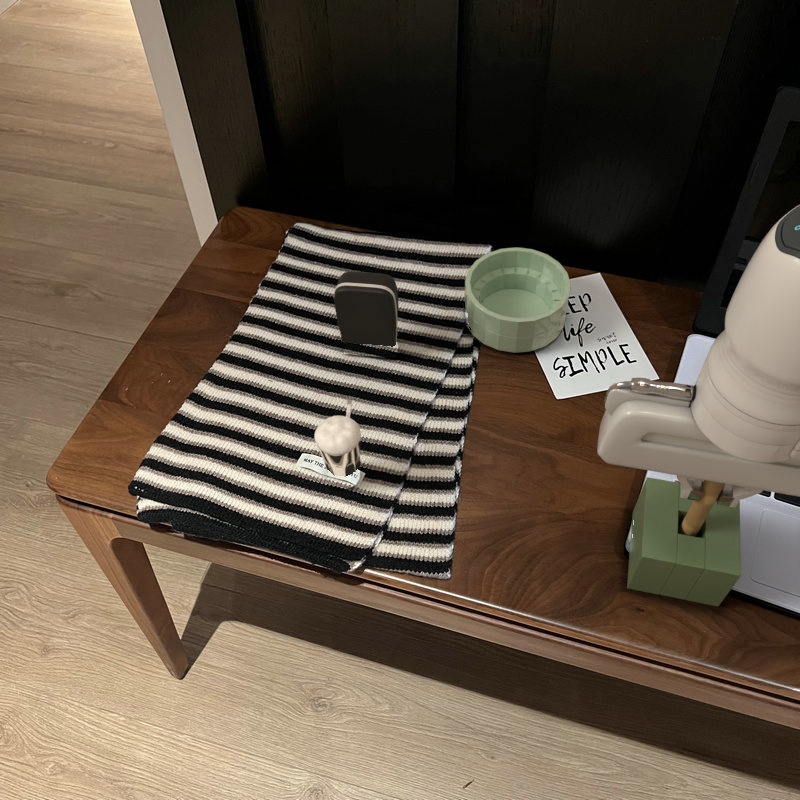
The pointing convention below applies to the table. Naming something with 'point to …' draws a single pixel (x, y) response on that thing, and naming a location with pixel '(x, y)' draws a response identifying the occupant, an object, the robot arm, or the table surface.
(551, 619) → the table surface
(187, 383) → the table surface
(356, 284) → the battery charger
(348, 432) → the milkshake
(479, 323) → the bowl
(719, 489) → the stick
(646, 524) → the holder
